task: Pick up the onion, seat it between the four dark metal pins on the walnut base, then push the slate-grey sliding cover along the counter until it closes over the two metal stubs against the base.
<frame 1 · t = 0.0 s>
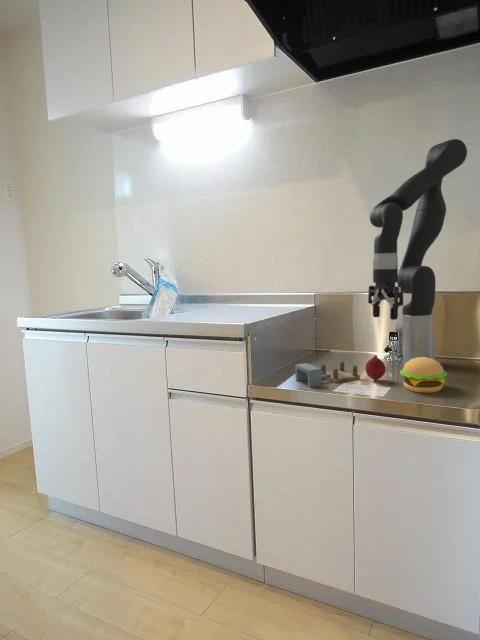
hand: (384, 318, 144), 17 cm above the countertop, tool pointing down, fingers open, 8 cm apart
onion: (375, 381, 134), on the countertop
pin seat: (339, 377, 140), on the countertop
hamburger: (423, 389, 124), on the countertop
housing: (308, 374, 136), point 3 cm above the countertop, slide at 0.0 cm
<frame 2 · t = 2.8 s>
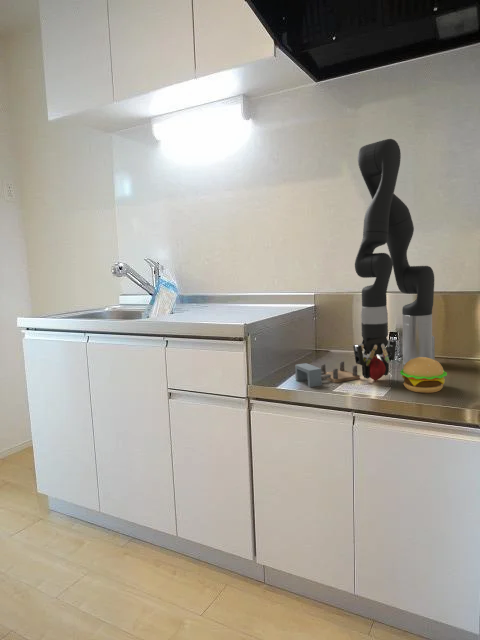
hand: (375, 376, 134), 1 cm above the countertop, tool pointing down, fingers closed on onion, 6 cm apart
onion: (375, 381, 134), on the countertop, touching gripper
everything else where it was.
when the fingers open (4 cm above the countertop, at t = 7.3 s): onion drops 1 cm, resting on pin seat.
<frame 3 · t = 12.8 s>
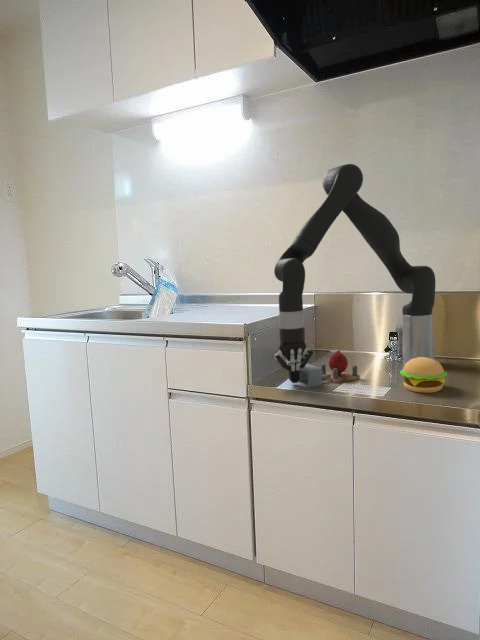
hand: (294, 382, 134), 1 cm above the countertop, tool pointing down, fingers closed
onion: (338, 375, 140), point 1 cm above the countertop, touching pin seat
housing: (308, 374, 136), point 2 cm above the countertop, slide at 0.1 cm, touching gripper
everything else where it was.
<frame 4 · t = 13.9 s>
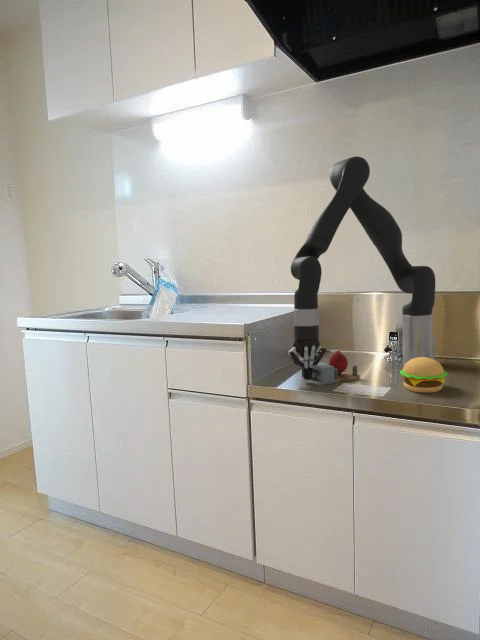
hand: (307, 379, 136), 1 cm above the countertop, tool pointing down, fingers closed
housing: (320, 372, 137), point 2 cm above the countertop, slide at 4.5 cm, touching gripper, pin seat
everything else where it was.
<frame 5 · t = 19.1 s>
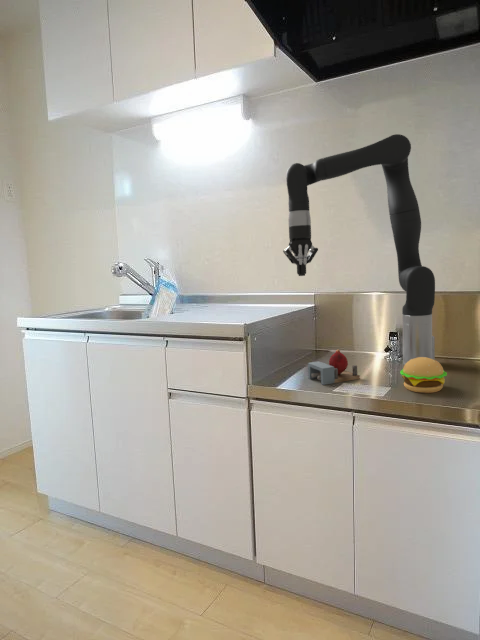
hand: (301, 275, 154), 32 cm above the countertop, tool pointing down, fingers closed
housing: (320, 372, 137), point 3 cm above the countertop, slide at 4.5 cm, touching pin seat
everything else where it was.
at the end: onion 0.2 cm off-centre on the pin seat, point 0.8 cm above the pin seat's base; housing slide at 4.5 cm; the gripper is holding nothing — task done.
